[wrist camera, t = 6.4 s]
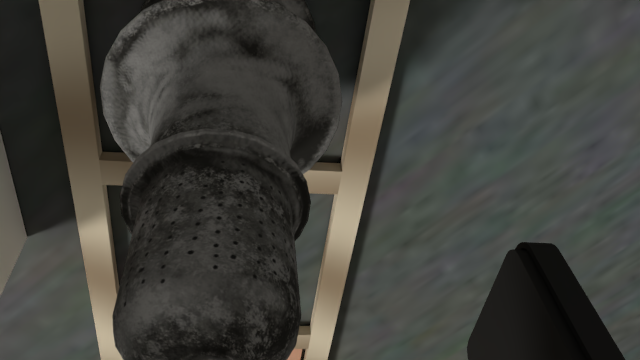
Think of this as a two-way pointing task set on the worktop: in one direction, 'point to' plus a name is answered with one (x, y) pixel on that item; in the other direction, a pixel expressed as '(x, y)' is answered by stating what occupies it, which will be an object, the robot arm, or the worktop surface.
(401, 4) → the game track
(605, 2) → the worktop surface
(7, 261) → the dome housing
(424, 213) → the worktop surface
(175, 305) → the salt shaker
